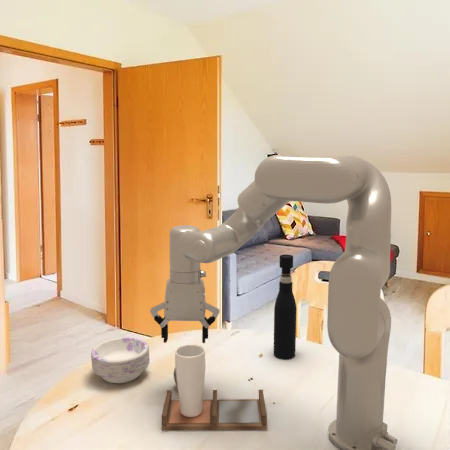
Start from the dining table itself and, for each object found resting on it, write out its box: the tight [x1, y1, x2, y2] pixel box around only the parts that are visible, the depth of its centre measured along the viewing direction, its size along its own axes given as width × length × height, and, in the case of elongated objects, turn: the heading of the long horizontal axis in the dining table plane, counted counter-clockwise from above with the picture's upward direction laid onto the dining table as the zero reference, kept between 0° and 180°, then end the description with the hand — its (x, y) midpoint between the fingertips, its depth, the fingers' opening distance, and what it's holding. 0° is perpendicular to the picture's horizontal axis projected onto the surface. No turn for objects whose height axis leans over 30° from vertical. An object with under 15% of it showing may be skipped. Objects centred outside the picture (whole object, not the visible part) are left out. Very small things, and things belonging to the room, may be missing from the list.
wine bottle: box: [273, 254, 297, 360], centre depth 141 cm, size 6×6×30 cm
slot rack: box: [161, 389, 268, 432], centre depth 112 cm, size 23×11×4 cm, turn 90°
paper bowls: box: [90, 336, 150, 384], centre depth 131 cm, size 15×15×8 cm
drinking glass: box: [174, 344, 206, 417], centre depth 110 cm, size 7×7×15 cm
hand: (184, 340), depth 123 cm, fingers open, 9 cm apart
